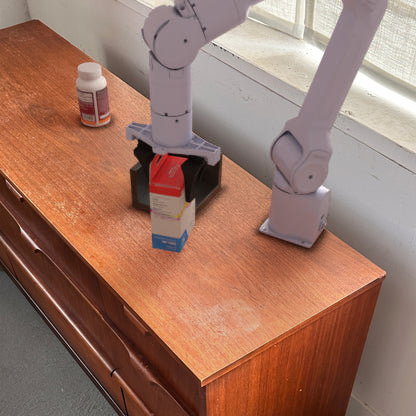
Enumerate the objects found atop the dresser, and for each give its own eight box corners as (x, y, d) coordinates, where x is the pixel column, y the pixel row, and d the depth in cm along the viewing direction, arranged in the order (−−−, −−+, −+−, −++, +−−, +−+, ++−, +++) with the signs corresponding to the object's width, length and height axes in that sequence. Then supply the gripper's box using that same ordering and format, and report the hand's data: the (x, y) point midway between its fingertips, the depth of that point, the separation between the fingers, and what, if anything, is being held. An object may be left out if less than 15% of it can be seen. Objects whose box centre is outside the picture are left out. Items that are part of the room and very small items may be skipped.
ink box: (180, 254, 99) (180, 170, 88) (150, 248, 99) (147, 164, 88) (195, 224, 104) (197, 141, 93) (167, 218, 105) (165, 136, 94)
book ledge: (221, 189, 115) (222, 151, 110) (186, 225, 108) (186, 187, 102) (169, 172, 119) (168, 135, 113) (132, 207, 111) (129, 169, 105)
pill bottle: (106, 112, 134) (101, 58, 126) (113, 125, 130) (108, 71, 122) (78, 116, 132) (70, 62, 124) (84, 129, 129) (77, 75, 120)
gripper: (110, 105, 85) (118, 192, 96) (204, 132, 81) (202, 220, 91) (138, 85, 90) (143, 171, 100) (228, 110, 85) (224, 197, 95)
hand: (173, 193), depth 96 cm, fingers closed on ink box, 5 cm apart
